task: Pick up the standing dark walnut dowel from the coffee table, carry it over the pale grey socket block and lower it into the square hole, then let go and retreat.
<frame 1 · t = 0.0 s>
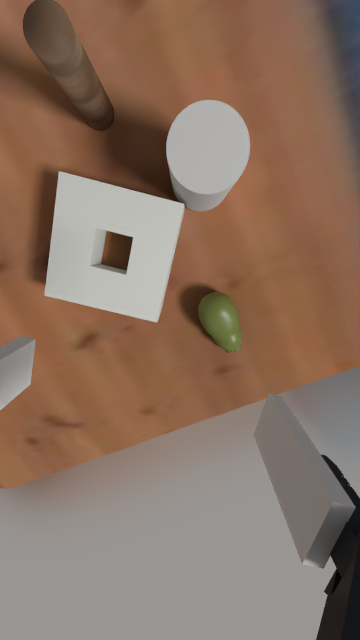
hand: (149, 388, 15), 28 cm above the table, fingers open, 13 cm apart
grey cylinder peg: (200, 181, 38), on the table
walnut dowel: (99, 113, 36), on the table
socket block: (120, 251, 40), on the table
pear: (220, 319, 43), on the table
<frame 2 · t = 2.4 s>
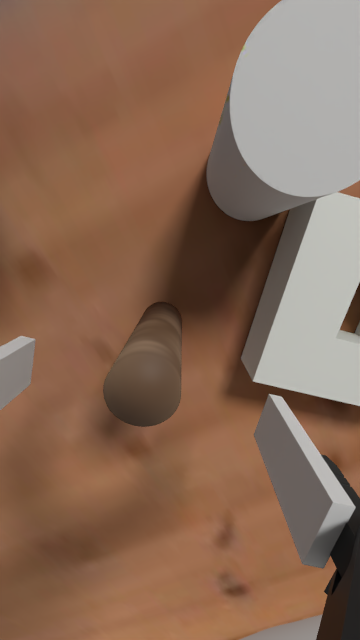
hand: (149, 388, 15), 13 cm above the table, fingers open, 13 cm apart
grey cylinder peg: (251, 173, 24), on the table
walnut dowel: (162, 321, 27), on the table
socket block: (341, 304, 27), on the table
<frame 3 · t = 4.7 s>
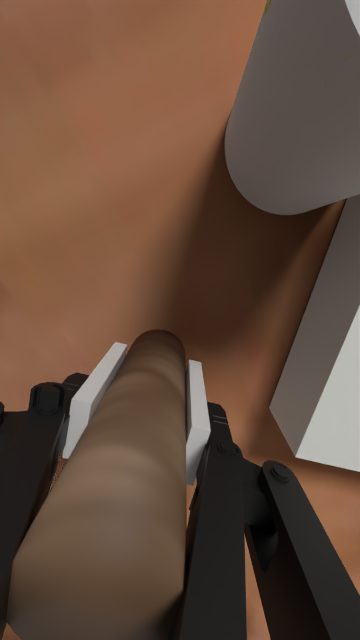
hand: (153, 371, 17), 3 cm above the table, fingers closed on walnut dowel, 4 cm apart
grey cylinder peg: (291, 143, 16), on the table
walnut dowel: (157, 356, 19), on the table, touching gripper
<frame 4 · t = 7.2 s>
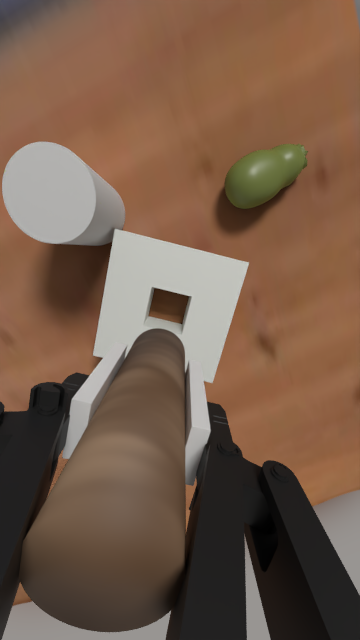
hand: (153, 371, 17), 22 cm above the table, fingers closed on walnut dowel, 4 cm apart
grey cylinder peg: (94, 213, 35), on the table
walnut dowel: (158, 354, 20), point 18 cm above the table, touching gripper
socket block: (169, 303, 38), on the table
pear: (260, 180, 34), on the table
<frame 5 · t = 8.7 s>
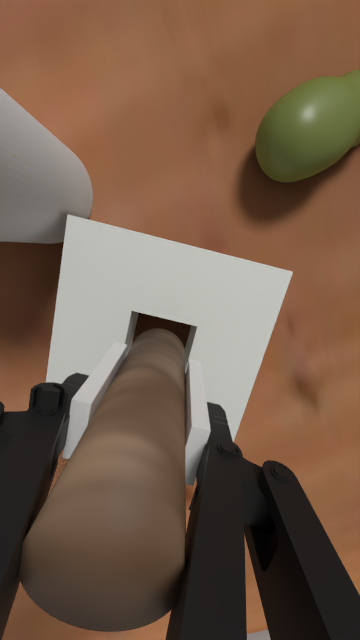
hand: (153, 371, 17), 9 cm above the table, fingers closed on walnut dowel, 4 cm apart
grey cylinder peg: (45, 193, 22), on the table
walnut dowel: (158, 354, 20), point 5 cm above the table, touching gripper
socket block: (162, 330, 25), on the table
pear: (308, 138, 21), on the table
when the fingers open (6 cm above the table, at t = 9.8 s): walnut dowel drops 3 cm, resting in socket block.
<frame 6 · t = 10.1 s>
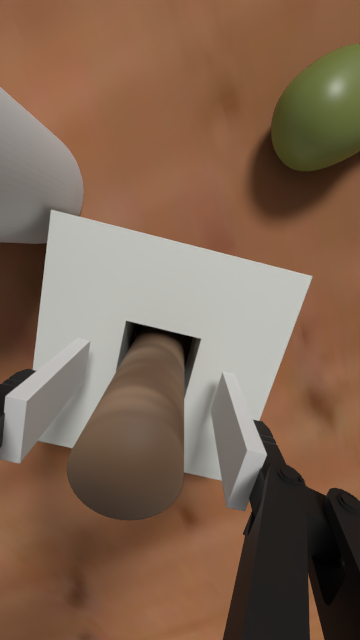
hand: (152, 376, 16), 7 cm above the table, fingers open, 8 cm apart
grey cylinder peg: (30, 187, 20), on the table
walnut dowel: (160, 341, 23), resting in socket block
socket block: (161, 340, 23), on the table
pear: (331, 121, 19), on the table
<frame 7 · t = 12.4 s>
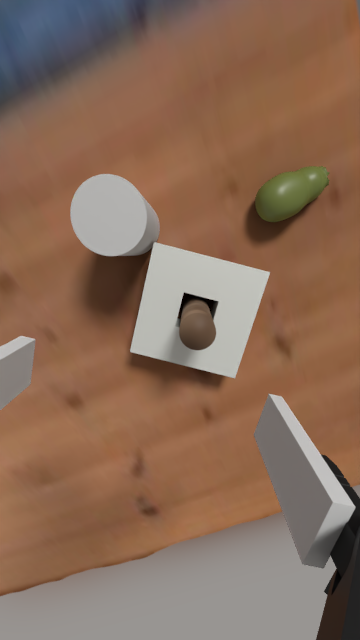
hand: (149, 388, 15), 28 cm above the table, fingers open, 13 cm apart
grey cylinder peg: (132, 227, 40), on the table
walnut dowel: (195, 307, 42), resting in socket block
socket block: (196, 307, 42), on the table
pear: (285, 196, 38), on the table
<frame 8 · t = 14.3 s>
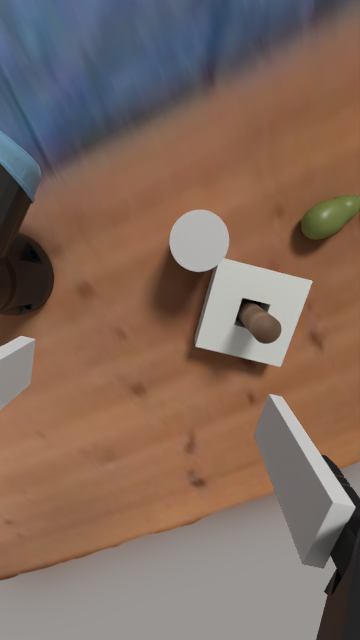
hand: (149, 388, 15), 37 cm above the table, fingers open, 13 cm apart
grey cylinder peg: (195, 243, 48), on the table
walnut dowel: (245, 309, 51), resting in socket block
socket block: (245, 308, 51), on the table
pear: (323, 217, 47), on the table
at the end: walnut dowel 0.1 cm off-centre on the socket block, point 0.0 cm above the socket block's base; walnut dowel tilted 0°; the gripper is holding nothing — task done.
